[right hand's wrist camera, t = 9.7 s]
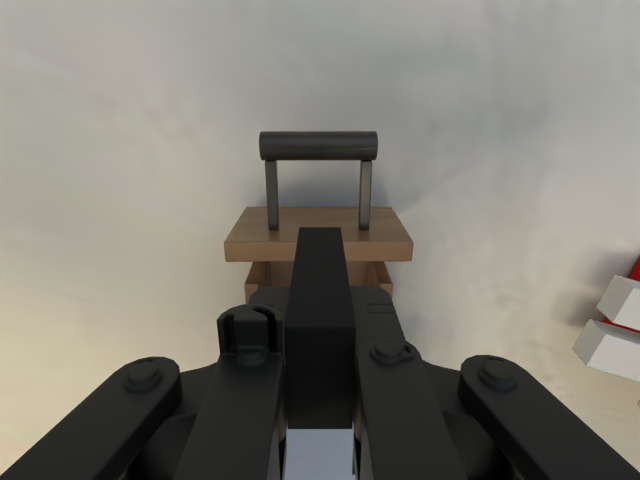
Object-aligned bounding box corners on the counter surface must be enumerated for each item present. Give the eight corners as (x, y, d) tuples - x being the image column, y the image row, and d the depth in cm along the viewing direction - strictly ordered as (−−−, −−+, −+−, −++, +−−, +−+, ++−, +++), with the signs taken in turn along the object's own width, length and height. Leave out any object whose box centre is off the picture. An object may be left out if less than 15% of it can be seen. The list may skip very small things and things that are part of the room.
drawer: (240, 124, 26) (213, 135, 19) (397, 124, 26) (423, 135, 19) (260, 413, 34) (246, 489, 28) (378, 413, 34) (392, 488, 28)
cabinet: (248, 315, 32) (223, 394, 24) (389, 315, 32) (414, 394, 24) (261, 491, 39) (245, 600, 31) (377, 490, 39) (393, 600, 31)
